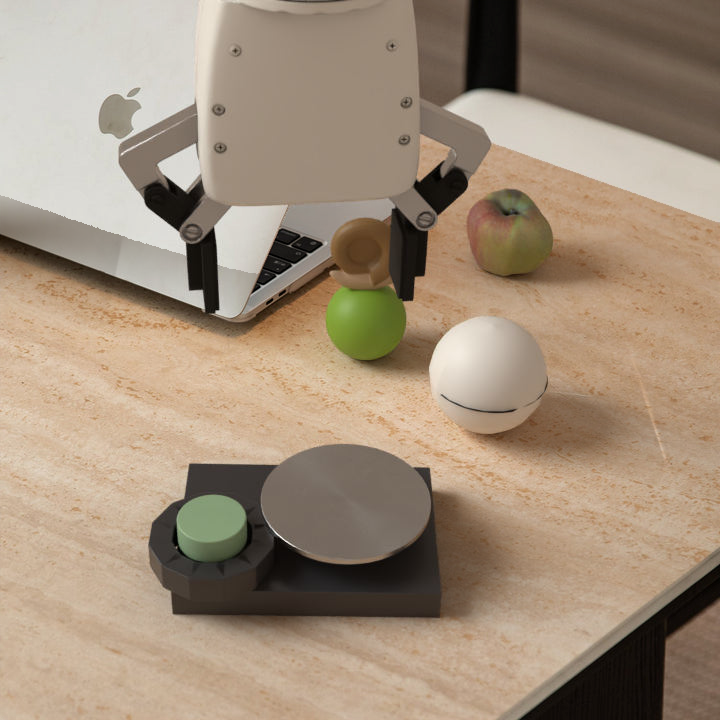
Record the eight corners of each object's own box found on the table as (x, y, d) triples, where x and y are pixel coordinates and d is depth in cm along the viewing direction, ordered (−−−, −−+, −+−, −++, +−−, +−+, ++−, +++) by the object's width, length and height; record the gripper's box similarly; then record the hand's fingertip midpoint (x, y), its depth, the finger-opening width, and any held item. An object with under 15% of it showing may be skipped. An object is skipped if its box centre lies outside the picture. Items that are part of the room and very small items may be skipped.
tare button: (174, 563, 64) (173, 541, 63) (181, 515, 67) (180, 493, 66) (245, 564, 64) (244, 542, 63) (248, 516, 67) (248, 494, 66)
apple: (478, 230, 99) (485, 164, 95) (564, 266, 95) (575, 198, 91) (433, 260, 95) (439, 191, 91) (521, 298, 91) (530, 228, 87)
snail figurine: (422, 375, 83) (435, 218, 76) (326, 376, 82) (330, 218, 75) (414, 329, 87) (425, 176, 80) (323, 330, 87) (326, 176, 80)
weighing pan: (256, 563, 63) (256, 558, 63) (264, 447, 71) (264, 442, 71) (436, 566, 64) (436, 560, 63) (425, 450, 71) (425, 444, 71)
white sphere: (403, 432, 78) (410, 336, 74) (456, 373, 83) (465, 280, 79) (550, 490, 74) (567, 392, 70) (596, 424, 79) (614, 329, 75)
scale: (146, 626, 64) (142, 578, 62) (169, 486, 73) (165, 441, 71) (440, 629, 65) (445, 582, 63) (427, 491, 74) (431, 445, 71)
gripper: (486, -80, 57) (457, 245, 67) (100, -73, 54) (131, 264, 64) (530, -25, 51) (492, 323, 61) (99, -14, 48) (133, 347, 58)
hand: (306, 292), depth 62 cm, fingers open, 9 cm apart
